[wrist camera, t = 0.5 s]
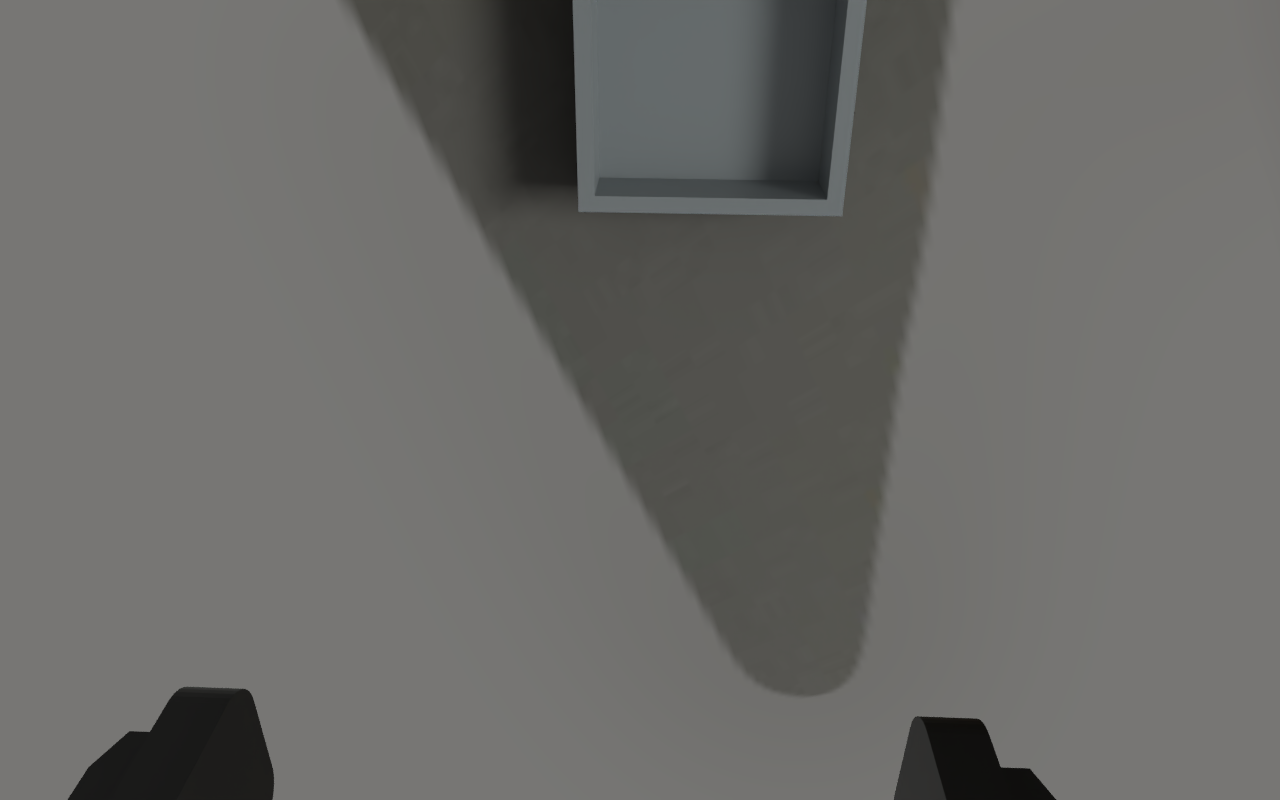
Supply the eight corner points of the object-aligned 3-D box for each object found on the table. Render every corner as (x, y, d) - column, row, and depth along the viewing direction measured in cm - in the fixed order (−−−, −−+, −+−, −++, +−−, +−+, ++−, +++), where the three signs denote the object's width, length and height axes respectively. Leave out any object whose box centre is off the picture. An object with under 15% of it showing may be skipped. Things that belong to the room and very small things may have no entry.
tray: (579, -87, 27) (570, -84, 25) (859, -85, 27) (876, -82, 24) (585, 187, 31) (578, 211, 28) (829, 191, 30) (842, 216, 28)
